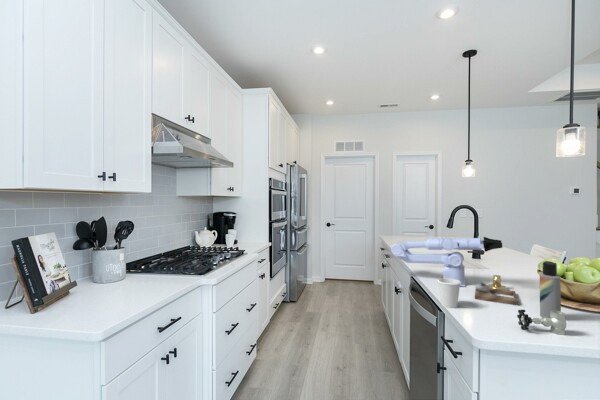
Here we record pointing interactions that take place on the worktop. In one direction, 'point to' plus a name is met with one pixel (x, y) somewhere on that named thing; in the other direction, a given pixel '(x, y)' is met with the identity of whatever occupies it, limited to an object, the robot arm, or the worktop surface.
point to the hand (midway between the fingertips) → (501, 244)
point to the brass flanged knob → (497, 283)
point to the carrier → (485, 294)
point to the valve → (544, 321)
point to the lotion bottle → (549, 289)
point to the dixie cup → (449, 292)
